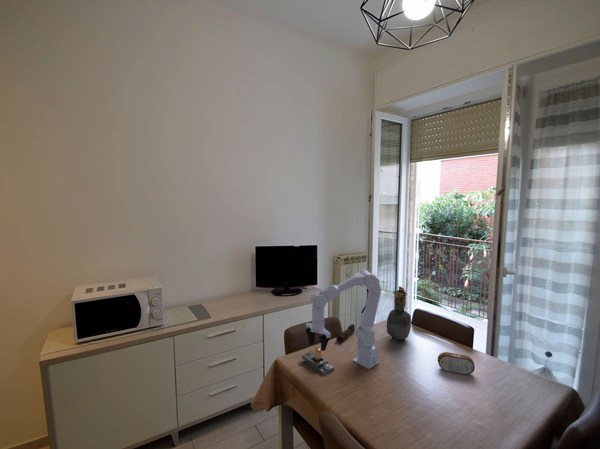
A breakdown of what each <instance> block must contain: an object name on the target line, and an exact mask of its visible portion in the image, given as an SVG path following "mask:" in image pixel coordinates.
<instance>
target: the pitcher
mask: <svg viewBox="0 0 600 449" xmlns="http://www.w3.org/2000/svg"><path fill="white" fill-rule="evenodd" d="M392 293H393V294H394V309H392V310H390V312H389V314H388V316H387V318H386V332H387V334H388V336H390V337H391V340H392V342H393V343H397V344H402V343H405V342H406V339H407V338H408V337H409V335H410V333H411V326H412V316H411V314H410V313H409V312H408V311H406V310H405V308H406V303H407V301H406V300H407V298H406V297H407V295H408V293H407V291H406V290H405V288H404V287H402V286H398V289H397V290H395V291H393V292H392Z"/></svg>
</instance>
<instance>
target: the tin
mask: <svg viewBox="0 0 600 449" xmlns="http://www.w3.org/2000/svg"><path fill="white" fill-rule="evenodd" d="M437 362H438V366H439V367H440V369H441V370H443V371H444V372H448V373H453V374H458V375H464V376H468V375H471V374H473V373H474V371H475V368H476V367H475V362H474V360H473V359H472V358H471V357H470V356H468V355H465V354H459V353H454V352H453V353H452V352H448V351H446V352H445V351H444V352H440V354H439V355H438V357H437Z"/></svg>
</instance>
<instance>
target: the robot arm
mask: <svg viewBox="0 0 600 449" xmlns="http://www.w3.org/2000/svg"><path fill="white" fill-rule="evenodd" d="M354 286H360V287H364V286H365V287H366V289H367V290H368V294H367V299H366V304H365V307H364V312H363V313H364V314H363V316H362V317H363V318H362V321H361V322H360V323H359V326H358V327H357V329H356V331H355V335H356V337H357V347H356V357H355V358H353V359H352V361H353V362H355V363H357V364H359V365H360V366H362V367H364V368H366V369H368V370H370V369H372V368H373V367H376V365H378V364H380V362H379V349H378V348H377V347H375V342H376V337H375V334H376V333H375V332H376V331H375V327H374V325H375V321H376V315H377V311H378V308H379V303H380V302H379V301H380V297H381V293H382V288H381V285H380V279H379V278H378V277H377V276H376V275H375V274H373V273H371V272H370V271H369V270H367V269H361V270H360V271H358V272H355V273H354V274H353V275H352V276H350V277H348V278H346V280H343V281H342V282H341V283H339V284H337V285H336V284H329V285H328V287H326V288H325V289H322V290H319V292H314V293H312V295H311V297H310V301H311V302H312V304H311V306H312V308H311V322H306V323H305V324H306V325H305V328H306V329H305V333H306V334H307V337H308V341H309V344H310V345H311V346H312V345H314V344H315V341H316V334H320V335H321V336H319V337H318V338H319V341H320V349H321V352H325V351H326V350H327V346H328V343H329V341H330V339H331V337H332V333H331V332H330V331H329V330H327V329H326V328H325V306H326V305H327V303H328V302H331V301H333V300H334V299H336V298H339V297H340V295H341V293H342V292H344V291H346V290H348V289H350V288H352V287H354Z"/></svg>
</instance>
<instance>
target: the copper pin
mask: <svg viewBox="0 0 600 449" xmlns="http://www.w3.org/2000/svg"><path fill="white" fill-rule="evenodd" d="M314 352H315V353H314V362H316V363H319V362H321V355H322V351H321V347H315V348H314Z"/></svg>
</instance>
